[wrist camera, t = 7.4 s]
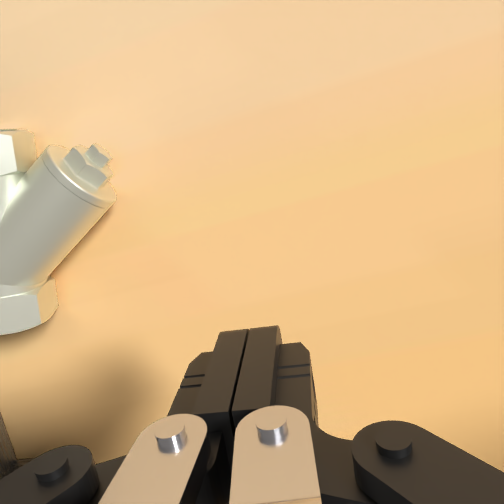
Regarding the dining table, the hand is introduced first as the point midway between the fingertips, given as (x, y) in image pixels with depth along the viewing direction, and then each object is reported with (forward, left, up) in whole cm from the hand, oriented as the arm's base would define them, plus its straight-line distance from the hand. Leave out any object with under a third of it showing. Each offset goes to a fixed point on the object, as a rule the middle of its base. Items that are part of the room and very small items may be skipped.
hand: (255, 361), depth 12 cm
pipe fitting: (+9, -3, -10) cm, 14 cm away
